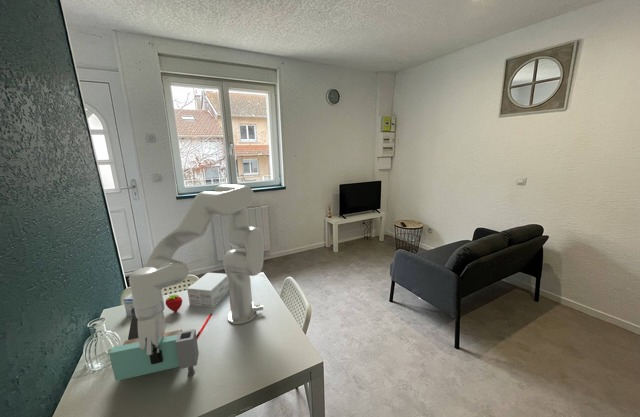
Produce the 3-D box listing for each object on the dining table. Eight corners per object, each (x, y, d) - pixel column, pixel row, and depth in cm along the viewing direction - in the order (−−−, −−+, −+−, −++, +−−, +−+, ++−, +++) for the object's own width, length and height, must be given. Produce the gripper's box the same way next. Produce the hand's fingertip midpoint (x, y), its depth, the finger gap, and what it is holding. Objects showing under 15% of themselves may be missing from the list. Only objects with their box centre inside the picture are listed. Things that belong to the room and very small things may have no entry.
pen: (192, 344, 101) (191, 342, 101) (210, 314, 120) (210, 312, 119) (194, 344, 101) (194, 341, 101) (212, 314, 120) (212, 312, 119)
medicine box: (136, 306, 126) (133, 290, 124) (146, 305, 127) (143, 289, 125) (126, 316, 119) (122, 299, 117) (136, 315, 119) (133, 298, 117)
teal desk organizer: (198, 354, 89) (195, 328, 87) (196, 365, 85) (192, 338, 83) (120, 371, 83) (114, 344, 81) (113, 384, 78) (107, 356, 76)
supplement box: (209, 287, 143) (207, 272, 141) (231, 289, 140) (229, 273, 138) (188, 305, 127) (186, 288, 125) (213, 307, 124) (210, 290, 122)
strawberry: (177, 316, 118) (174, 297, 115) (163, 315, 119) (160, 295, 117) (187, 309, 123) (184, 290, 121) (173, 307, 125) (170, 288, 123)
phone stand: (137, 344, 101) (132, 317, 99) (127, 340, 104) (122, 313, 101) (159, 329, 109) (154, 304, 107) (149, 326, 112) (145, 301, 109)
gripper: (144, 296, 86) (153, 344, 90) (124, 326, 71) (135, 382, 75) (170, 292, 88) (177, 339, 92) (155, 321, 73) (165, 376, 77)
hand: (158, 358), depth 83 cm, fingers closed on teal desk organizer, 2 cm apart
